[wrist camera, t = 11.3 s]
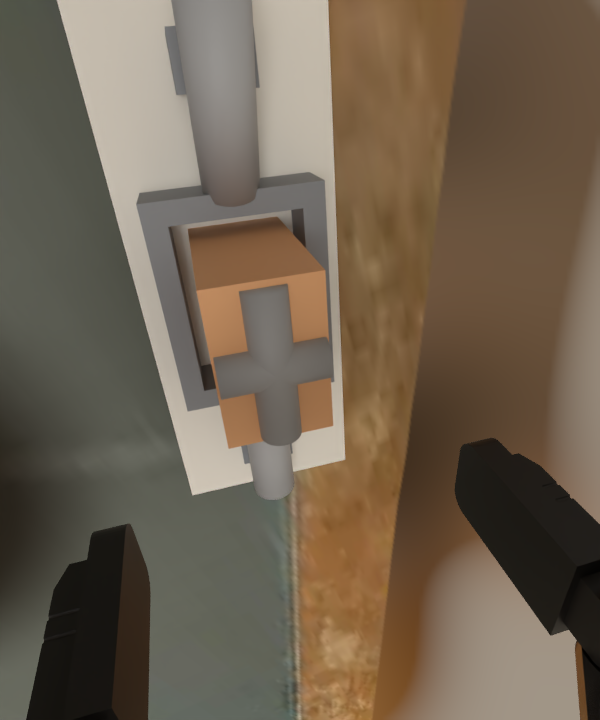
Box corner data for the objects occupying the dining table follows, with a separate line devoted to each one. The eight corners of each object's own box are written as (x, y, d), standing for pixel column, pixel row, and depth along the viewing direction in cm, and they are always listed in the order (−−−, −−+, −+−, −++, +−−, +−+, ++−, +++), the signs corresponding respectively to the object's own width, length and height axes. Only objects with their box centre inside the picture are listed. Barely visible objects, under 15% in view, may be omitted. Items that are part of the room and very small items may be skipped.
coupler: (187, 228, 21) (197, 300, 14) (277, 216, 22) (332, 278, 15) (211, 351, 25) (230, 463, 17) (289, 337, 25) (339, 438, 18)
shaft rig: (191, 478, 30) (197, 575, 24) (52, -37, 17) (-12, -111, 11) (338, 445, 32) (378, 527, 26) (315, -48, 19) (386, -117, 13)
